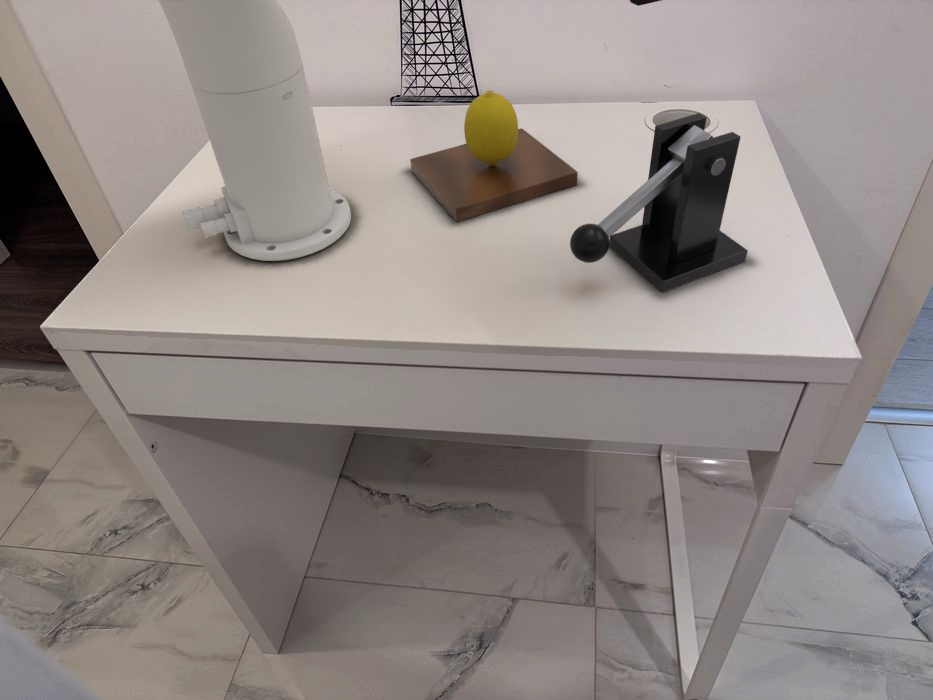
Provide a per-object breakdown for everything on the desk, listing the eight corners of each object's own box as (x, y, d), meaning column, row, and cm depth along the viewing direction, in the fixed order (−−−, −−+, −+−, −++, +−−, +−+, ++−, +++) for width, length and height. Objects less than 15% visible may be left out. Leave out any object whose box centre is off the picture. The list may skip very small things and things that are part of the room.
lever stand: (662, 292, 59) (683, 166, 51) (608, 246, 64) (620, 125, 56) (745, 261, 61) (778, 136, 53) (687, 219, 67) (709, 99, 59)
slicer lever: (592, 276, 57) (577, 255, 55) (572, 257, 59) (556, 235, 57) (725, 161, 56) (715, 133, 53) (699, 145, 58) (688, 118, 56)
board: (456, 222, 69) (455, 209, 68) (411, 171, 77) (409, 158, 76) (577, 184, 73) (577, 171, 71) (522, 140, 81) (521, 128, 80)
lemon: (519, 176, 71) (518, 101, 66) (466, 179, 72) (461, 104, 66) (517, 151, 75) (516, 78, 70) (467, 153, 76) (462, 81, 70)
